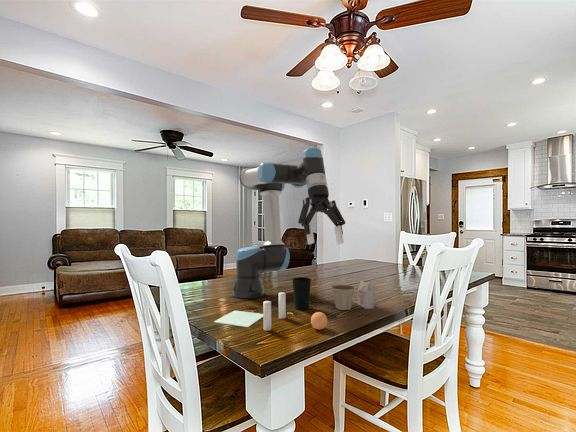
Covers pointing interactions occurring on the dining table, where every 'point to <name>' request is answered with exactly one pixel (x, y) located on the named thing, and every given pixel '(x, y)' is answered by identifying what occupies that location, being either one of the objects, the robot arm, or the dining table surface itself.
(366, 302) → the milk carton
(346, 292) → the flower pot
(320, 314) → the ball
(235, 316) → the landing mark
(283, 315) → the right post
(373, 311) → the dining table surface
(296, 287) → the cup
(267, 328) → the left post
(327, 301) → the dining table surface
